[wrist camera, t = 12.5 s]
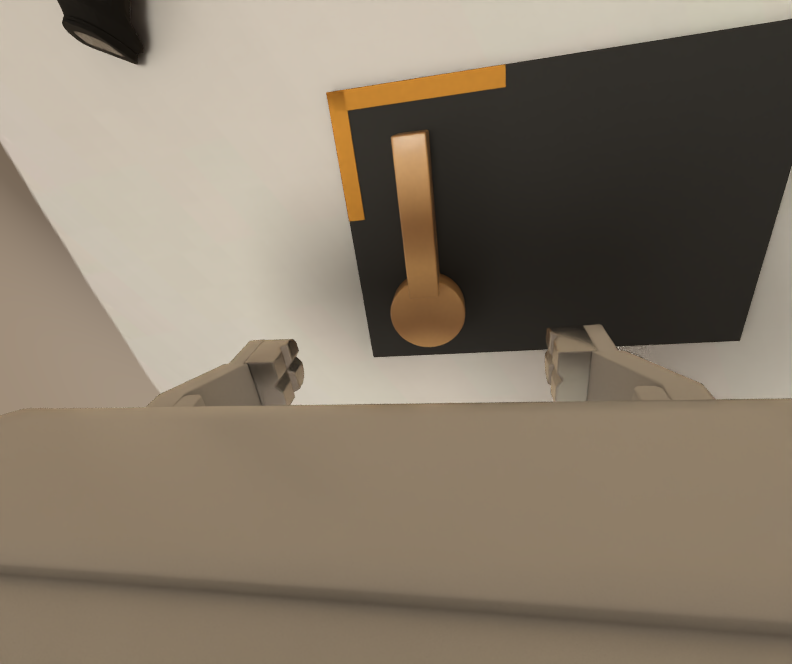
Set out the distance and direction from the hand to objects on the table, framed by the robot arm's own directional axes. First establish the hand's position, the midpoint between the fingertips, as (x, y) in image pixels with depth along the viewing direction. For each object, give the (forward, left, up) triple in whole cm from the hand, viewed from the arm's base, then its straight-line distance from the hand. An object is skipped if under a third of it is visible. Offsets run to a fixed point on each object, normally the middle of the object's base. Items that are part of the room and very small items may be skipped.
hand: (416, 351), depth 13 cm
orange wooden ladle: (+1, +1, -14) cm, 14 cm away
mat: (-7, 0, -14) cm, 16 cm away
